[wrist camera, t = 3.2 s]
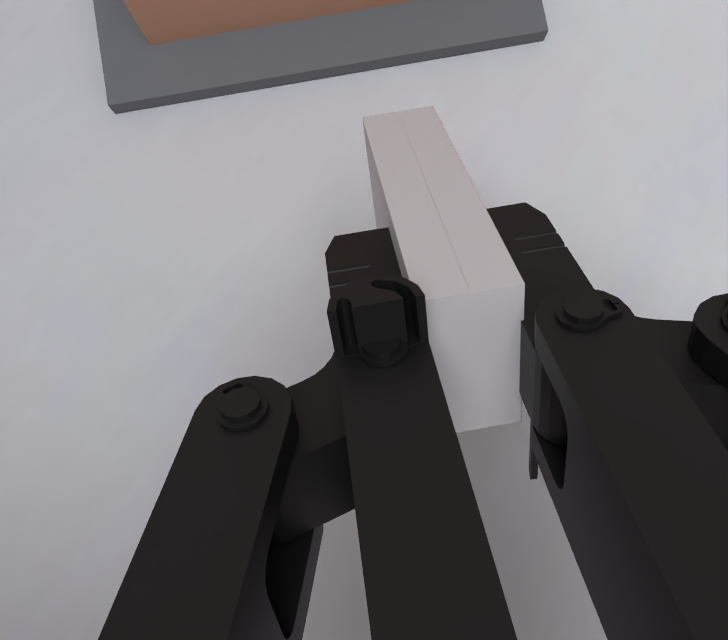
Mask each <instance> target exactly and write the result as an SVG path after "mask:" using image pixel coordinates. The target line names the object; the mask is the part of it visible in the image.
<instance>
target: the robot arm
mask: <svg viewBox="0 0 728 640" xmlns="http://www.w3.org/2000/svg"><path fill="white" fill-rule="evenodd" d="M363 126H364V133H365V141H366V149H367V156H368V164H369V172H370V179H371V187H372V195H373V203H374V210H375V218H376V226H377V229H375V230H369V231H363V232H357V233H351V234H345V235H339V236H334V238H333V240H332V242H331V243H330V245H329V247H328V249H327V251H326V253H325V257H326V265H327V272H328V281H329V289H330V297H331V298H330V300H329V303H328V309H327V315H328V320H329V325H330V330H331V335H332V340H333V345H334V350H335V351H334V353H333V356H332V358H331V359H330V360H329V362H328V363H327V364H326V365H325V367H324V368H322V369H321V370H320V371H319V372H317V373H316V374H315V375H313V376H311V377H310V378H308V379H306V380H304V381H302V382H300V383H297V384H295V385H293V386H290V387H288V388H285V386H284V385H282V384H280V383H279V382H277V381H275V380H273V379H272V378H265V377H259V376H251V377H244V378H237V379H234V380H232V381H229V382H227V383H224V384H222V385H220V386H218V387H217V388H215V389H214V390H213V391H212V392H210V393H209V394H208V395H206V396H205V397H204V398H203V400H202V401H201V403H200V404H199V406H198V407H197V409H196V410H195V412H194V415H193V417H192V419H191V422H190V424H189V426H188V429H187V431H186V433H185V436H184V438H183V441H182V443H181V445H180V448H179V450H178V452H177V455H176V457H175V459H174V462H173V464H172V466H171V469H170V471H169V474H168V476H167V478H166V481H165V483H164V485H163V488H162V490H161V492H160V495H159V497H158V499H157V502H156V504H155V506H154V509H153V511H152V514H151V516H150V518H149V521H148V523H147V525H146V528H145V530H144V532H143V535H142V537H141V539H140V542H139V544H138V547H137V549H136V551H135V554H134V556H133V558H132V561H131V563H130V565H129V568H128V570H127V572H126V575H125V577H124V579H123V582H122V584H121V587H120V589H119V591H118V594H117V596H116V598H115V601H114V603H113V605H112V608H111V610H110V612H109V615H108V617H107V620H106V622H105V624H104V627H103V629H102V631H101V634H100V636H99V638H98V640H302V637H303V632H304V626H305V621H306V616H307V611H308V606H309V601H310V596H311V591H312V586H313V580H314V575H315V570H316V565H317V560H318V555H319V550H320V545H321V539H322V534H323V524H324V523H326V522H328V521H330V520H332V519H334V518H336V517H339V516H341V515H343V514H345V513H347V512H349V511H351V510H353V509H355V511H356V519H357V527H358V535H359V543H360V551H361V559H362V567H363V575H364V582H365V590H366V598H367V606H368V614H369V622H370V630H371V638H372V640H517V637H516V634H515V630H514V627H513V624H512V620H511V617H510V614H509V610H508V607H507V603H506V600H505V597H504V593H503V590H502V587H501V583H500V580H499V576H498V573H497V570H496V566H495V563H494V560H493V556H492V553H491V549H490V546H489V543H488V539H487V536H486V533H485V529H484V526H483V522H482V519H481V516H480V512H479V509H478V506H477V502H476V499H475V496H474V492H473V489H472V485H471V482H470V479H469V475H468V472H467V469H466V465H465V462H464V458H463V455H462V452H461V448H460V445H459V442H458V438H457V435H456V433H458V432H464V431H470V430H476V429H482V428H487V427H493V426H499V425H505V424H511V423H517V422H521V412H522V400H523V402H524V405H525V407H526V409H527V412H528V414H529V417H530V419H531V426H530V452H529V473H530V480H531V479H537V475H538V465H539V468H540V470H541V473H542V475H543V478H544V480H545V483H546V485H547V488H548V490H549V493H550V495H551V498H552V500H553V503H554V505H555V508H556V510H557V513H558V516H559V518H560V521H561V523H562V526H563V528H564V531H565V533H566V536H567V538H568V541H569V543H570V546H571V548H572V551H573V553H574V556H575V558H576V561H577V563H578V566H579V569H580V571H581V574H582V576H583V579H584V581H585V584H586V586H587V589H588V591H589V594H590V596H591V599H592V601H593V604H594V606H595V609H596V611H597V614H598V616H599V619H600V622H601V624H602V627H603V629H604V632H605V634H606V637H607V639H608V640H728V294H723V295H718V296H713V297H711V298H709V299H707V300H706V301H704V302H702V303H701V304H700V305H699V307H698V308H697V310H696V312H695V314H694V318H693V321H674V320H655V319H647V318H640V317H636V316H634V314H633V313H632V311H631V310H630V308H629V307H628V306H627V305H626V304H624V303H623V302H622V301H621V300H620V299H619V298H617V297H615V296H613V295H611V294H609V293H606V292H604V291H600V290H595V289H594V288H593V287H592V285H591V284H590V282H589V281H588V279H587V277H586V276H585V274H584V273H583V271H582V270H581V268H580V267H579V265H578V264H577V262H576V261H575V259H574V257H573V256H572V254H571V253H570V251H569V250H568V248H567V247H565V245H564V242H563V241H562V239H561V237H560V236H559V234H556V230H555V228H554V227H553V225H552V224H551V222H550V220H549V219H548V217H547V216H546V214H544V213H542V212H541V211H539V210H537V209H535V208H534V207H532V206H530V205H529V204H527V203H519V204H513V205H507V206H501V207H495V208H489V209H486V208H485V206H484V204H483V202H482V200H481V198H480V196H479V194H478V192H477V190H476V188H475V186H474V185H473V183H472V181H471V179H470V177H469V175H468V173H467V171H466V169H465V167H464V165H463V163H462V161H461V159H460V158H459V156H458V154H457V152H456V150H455V148H454V146H453V144H452V142H451V140H450V138H449V136H448V134H447V132H446V130H445V129H444V127H443V125H442V123H441V121H440V119H439V117H438V115H437V113H436V111H435V109H434V107H433V106H430V107H424V108H418V109H412V110H406V111H400V112H394V113H388V114H382V115H375V116H369V117H363Z"/></svg>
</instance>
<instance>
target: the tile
mask: <svg viewBox="0 0 728 640" xmlns="http://www.w3.org/2000/svg"><path fill="white" fill-rule="evenodd" d="M408 1H414V0H123V2H124V3H125V5H126V7H127V8H128V10H129V12H130V13H131V15H132V17H133V18H134V20H135V21H136V23H137V25H138V26H139V28H140V30H141V31H142V33H143V35H144V36H145V38H146V39H147V41H148V43H149V44H150V45H154V44H160V43H166V42H172V41H178V40H184V39H190V38H196V37H202V36H207V35H213V34H219V33H225V32H231V31H237V30H243V29H249V28H255V27H260V26H266V25H272V24H278V23H284V22H290V21H296V20H302V19H308V18H314V17H319V16H325V15H331V14H337V13H343V12H349V11H355V10H361V9H367V8H373V7H378V6H384V5H390V4H396V3H402V2H408Z"/></svg>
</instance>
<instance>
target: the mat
mask: <svg viewBox="0 0 728 640" xmlns="http://www.w3.org/2000/svg"><path fill="white" fill-rule="evenodd" d="M93 2H94V9H95V16H96V23H97V30H98V37H99V44H100V51H101V58H102V65H103V72H104V79H105V86H106V93H107V100H108V106H109V107H110V108H111V109H112V110H113V111H114V113H115V114H116V113H122V112H128V111H134V110H140V109H146V108H151V107H157V106H163V105H169V104H175V103H181V102H186V101H192V100H198V99H204V98H210V97H216V96H221V95H227V94H233V93H239V92H245V91H251V90H257V89H262V88H268V87H274V86H280V85H286V84H292V83H297V82H303V81H309V80H315V79H321V78H327V77H332V76H338V75H344V74H350V73H356V72H362V71H368V70H373V69H379V68H385V67H391V66H397V65H403V64H408V63H414V62H420V61H426V60H432V59H438V58H444V57H449V56H455V55H461V54H467V53H473V52H479V51H484V50H490V49H496V48H502V47H508V46H514V45H519V44H525V43H531V42H537V41H543V40H544V38H545V36H546V34H547V32H548V27H547V22H546V18H545V13H544V9H543V4H542V0H414V1H408V2H402V3H396V4H390V5H384V6H378V7H373V8H367V9H361V10H355V11H349V12H343V13H337V14H331V15H325V16H319V17H314V18H308V19H302V20H296V21H290V22H284V23H278V24H272V25H266V26H260V27H255V28H249V29H243V30H237V31H231V32H225V33H219V34H213V35H207V36H202V37H196V38H190V39H184V40H178V41H172V42H166V43H160V44H154V45H150V44H149V43H148V41H147V39H146V38H145V36H144V35H143V33H142V31H141V30H140V28H139V26H138V25H137V23H136V21H135V20H134V18H133V17H132V15H131V13H130V12H129V10H128V8H127V7H126V5H125V3H124V2H123V0H93Z"/></svg>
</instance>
